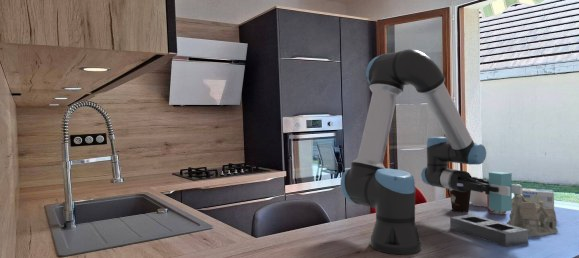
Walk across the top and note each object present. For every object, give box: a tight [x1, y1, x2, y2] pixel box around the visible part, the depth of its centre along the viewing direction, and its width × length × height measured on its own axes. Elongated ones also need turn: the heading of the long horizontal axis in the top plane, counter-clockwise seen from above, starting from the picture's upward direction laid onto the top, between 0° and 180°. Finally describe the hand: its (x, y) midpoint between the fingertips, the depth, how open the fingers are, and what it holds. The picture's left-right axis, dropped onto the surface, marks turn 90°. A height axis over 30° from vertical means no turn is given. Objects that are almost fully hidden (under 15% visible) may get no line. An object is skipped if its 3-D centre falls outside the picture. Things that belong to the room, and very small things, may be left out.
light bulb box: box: [521, 187, 555, 210], centre depth 150 cm, size 11×7×11 cm, turn 58°
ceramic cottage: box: [506, 193, 559, 237], centre depth 133 cm, size 16×16×15 cm
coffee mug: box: [447, 189, 471, 213], centre depth 164 cm, size 12×9×10 cm
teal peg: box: [488, 171, 513, 212], centre depth 123 cm, size 5×5×12 cm
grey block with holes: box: [449, 213, 529, 248], centre depth 128 cm, size 22×10×4 cm, turn 22°
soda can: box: [487, 194, 507, 216], centre depth 157 cm, size 7×7×12 cm
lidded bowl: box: [470, 190, 487, 208], centre depth 173 cm, size 13×13×11 cm
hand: (515, 190), depth 118 cm, fingers closed on teal peg, 5 cm apart
